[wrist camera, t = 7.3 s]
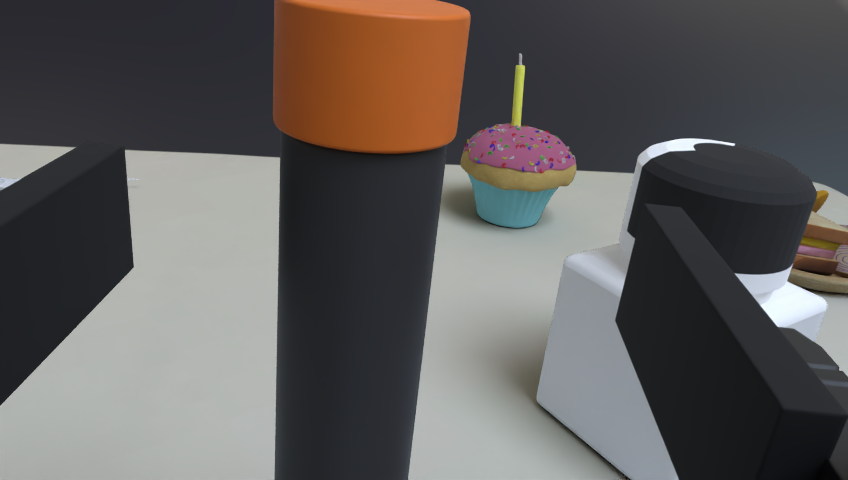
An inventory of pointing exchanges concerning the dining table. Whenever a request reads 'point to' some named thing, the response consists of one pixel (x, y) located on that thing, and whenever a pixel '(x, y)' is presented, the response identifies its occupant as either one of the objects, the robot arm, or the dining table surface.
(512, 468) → the dining table surface
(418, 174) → the marker
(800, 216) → the container
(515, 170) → the cupcake
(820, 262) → the toy sandwich meal
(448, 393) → the dining table surface
